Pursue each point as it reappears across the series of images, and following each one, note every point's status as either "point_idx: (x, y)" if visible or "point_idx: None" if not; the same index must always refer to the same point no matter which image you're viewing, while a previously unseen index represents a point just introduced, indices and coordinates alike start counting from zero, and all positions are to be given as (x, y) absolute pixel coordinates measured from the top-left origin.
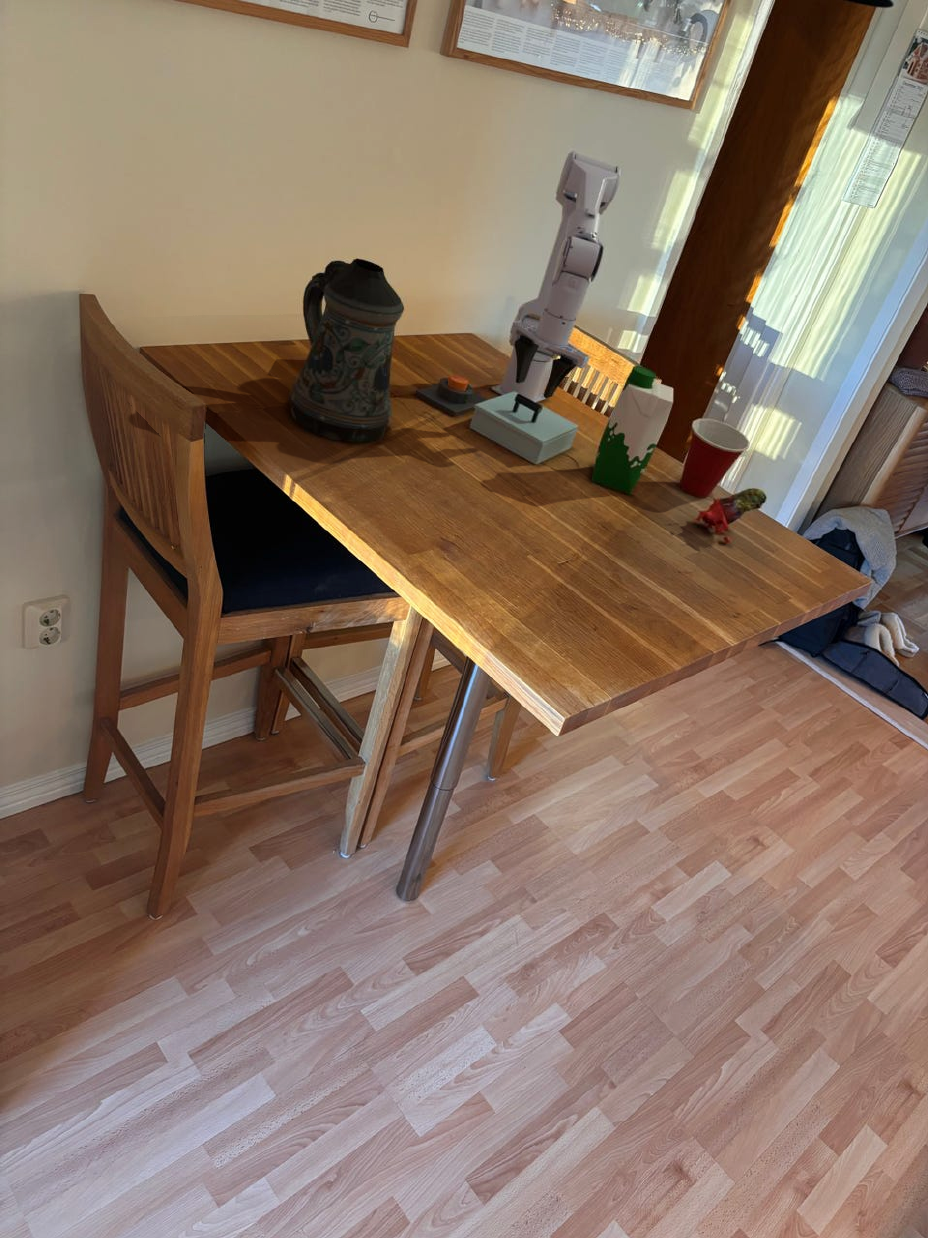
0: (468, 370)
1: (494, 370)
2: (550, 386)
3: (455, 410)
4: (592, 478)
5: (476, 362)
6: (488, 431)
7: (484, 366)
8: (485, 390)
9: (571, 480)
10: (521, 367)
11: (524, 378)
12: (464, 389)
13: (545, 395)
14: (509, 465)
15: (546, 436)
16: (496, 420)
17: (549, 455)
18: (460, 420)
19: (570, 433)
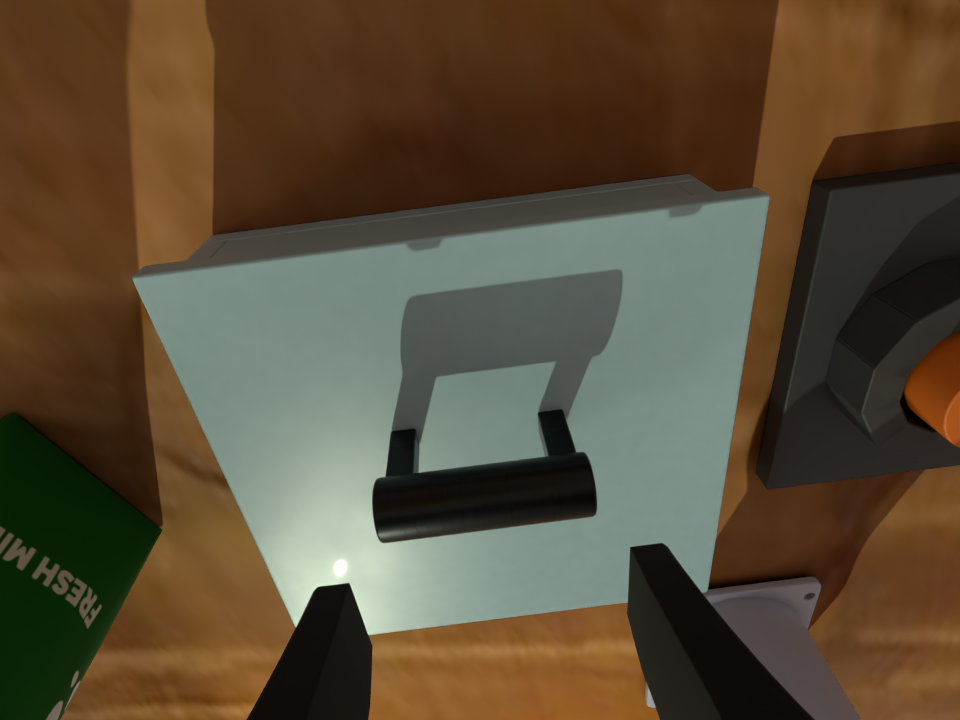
0: (951, 598)
1: (874, 676)
2: (264, 708)
3: (841, 207)
4: (6, 421)
5: (949, 659)
6: (568, 198)
7: (914, 665)
8: (829, 552)
9: (24, 310)
10: (711, 695)
11: (637, 635)
12: (916, 384)
13: (321, 600)
14: (232, 23)
15: (207, 371)
16: None
17: None
18: (767, 192)
19: None
